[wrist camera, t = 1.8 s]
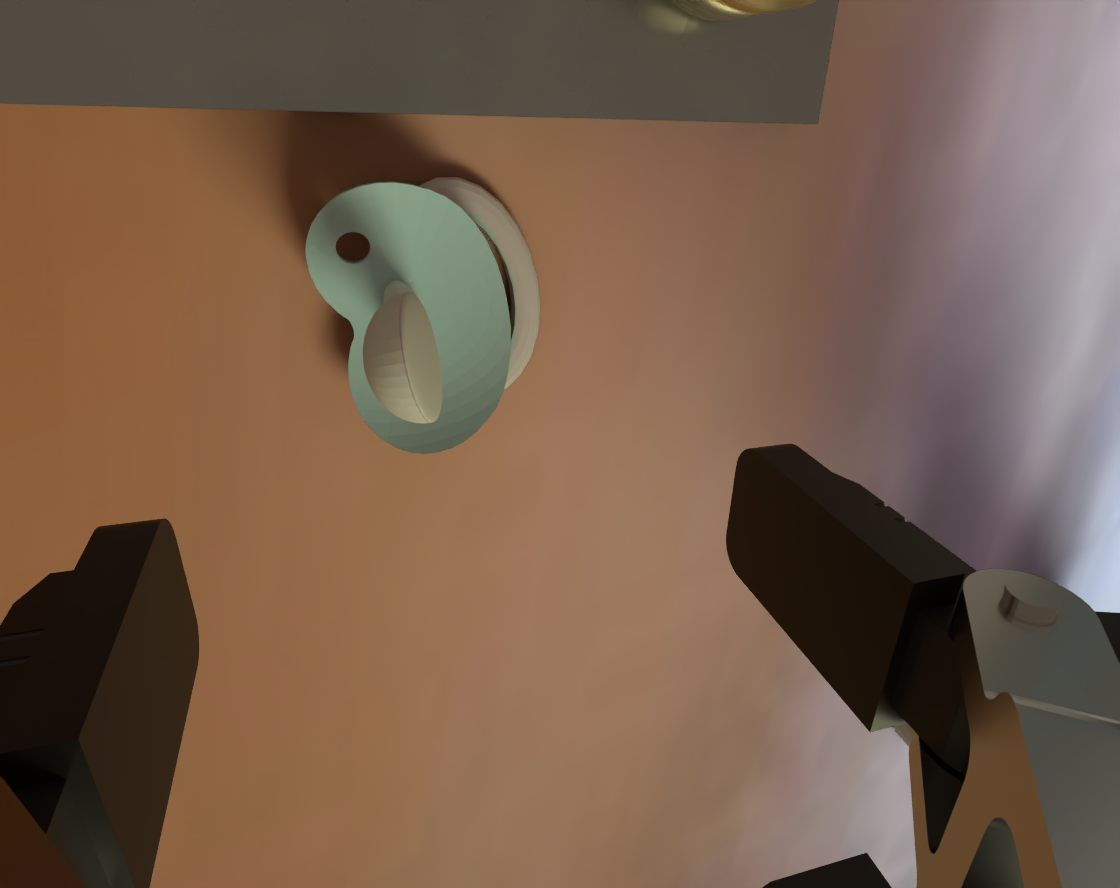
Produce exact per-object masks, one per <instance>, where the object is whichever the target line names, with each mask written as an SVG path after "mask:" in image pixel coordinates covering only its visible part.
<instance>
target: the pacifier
mask: <svg viewBox="0 0 1120 888" xmlns="http://www.w3.org/2000/svg"><path fill="white" fill-rule="evenodd" d="M474 222H475V223H477V224H478V225H479V226H480V227H481V228H482V229H483V230H484V232H485V233H486V234H487V236H488V237H489V238H490V239H491V241H492V242H493V244H494V246H495V248H496V250H497V252H498V254H499V256H500V258H501V260H502V262H503V265H504V268H505V272H506V275H507V278H508V282H509V290H510V297H511V314H510V317H509V309H508V303H507V297H506V293H505V288H504V285H503V281H502V277H501V274H500V271H499V268H498V265H497V262H496V260H495V258H494V255H493V253H492V251H491V249H490V247H489V245H488V243H487V241H486V239H485V237H484V236H483V234H482V233H481V231H480V230H479V228H478V227H477V225H476V224H475V223H474ZM348 232H357V233H360V234H362V235H364V236H365V237H366V238H367V239H368V241H369V243H370V249H369V252H368V254H367V256H366V257H364V258H363V259H361V260H359V261H353V262H352V261H347V260H345V259H343V258H342V257H341V256H340V255H339V254H338V252H337V250H336V242H337V241H338V239H339V238H340V237H341V236H342V235H343V234H346V233H348ZM305 253H306V260H307V265H308V269H309V273H310V275H311V278H312V280H313V282H314V284H315V286H316V288H317V289H318V291H319V292H320V294H321V295H322V296H323V298H324V299H325V300H326V301H327V302H328V303H329V304H330V305H331V306H332V307H333V308H334V309H335V310H336V311H337V312H338V313H339V314H340V315H342V316H343V317H345V318H347V319H348V320H349V321H350V323H351V324H352V327H353V330H354V339H353V341H352V345H351V348H350V354H349V362H348V374H349V384H350V389H351V393H352V397H353V400H354V402H355V404H356V407H357V409H358V411H359V413H360V415H361V416H362V418H363V419H364V421H365V422H366V423H367V425H368V426H369V428H370V429H371V430H372V431H374V432H375V433H376V434H377V435H378V436H379V437H380V438H381V439H383V440H384V441H386V442H388V443H389V444H391V445H393V446H394V447H396V448H399V449H402V450H405V451H408V452H413V453H422V454H427V453H436V452H440V451H443V450H447V449H450V448H453V447H455V446H456V445H458V444H460V443H462V442H464V441H465V440H467V439H468V438H469V437H470V436H472V435H473V434H474V433H475V432H477V431H478V429H479V428H480V427H481V426H482V425H483V423H485V422H486V421H487V420H488V418H489V417H490V415H491V414H492V413H493V411H494V410H495V409H496V407H497V405H498V402H499V400H500V397H501V395H502V393H503V391H504V389H506V388H507V387H508V386H509V385H510V384H511V383H512V382H513V381H514V380H515V379H516V378H517V377H518V376H519V375H520V374H521V373H522V371H523V369H524V368H525V366H526V364H527V362H528V360H529V359H530V357H531V355H532V352H533V348H534V345H535V341H536V337H537V334H538V328H539V315H540V298H539V288H538V279H537V274H536V270H535V267H534V263H533V260H532V256H531V253H530V249H529V247H528V245H527V243H526V241H525V239H524V237H523V235H522V233H521V231H520V229H519V227H518V225H517V223H516V222H515V220H514V219H513V218H512V216H511V215H510V214H509V212H508V211H507V210H506V209H505V207H504V206H503V205H502V203H501V202H500V201H499V200H498V199H496V198H495V197H494V196H493V195H491V194H490V193H489V192H487V191H486V190H485V189H484V188H482V187H481V186H480V185H477V184H475V183H472V182H470V181H467V180H464V179H462V178H459V177H437V178H435V179H432V180H430V181H428V182H426V183H424V184H421V185H419V186H416V185H413V184H408V183H401V182H394V181H391V182H373V183H368V184H363V185H358V186H356V187H353V188H351V189H348V190H346V191H343V192H342V193H340V194H338V195H337V196H335V197H334V198H332V199H331V200H330V201H329V202H328V203H327V204H326V205H325V206H324V207H323V208H322V209H321V210H320V211H319V212H318V214H317V216H316V217H315V219H314V221H313V222H312V224H311V226H310V229H309V233H308V236H307V240H306V246H305Z"/></svg>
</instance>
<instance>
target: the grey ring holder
mask: <svg viewBox="0 0 1120 888" xmlns="http://www.w3.org/2000/svg"><path fill="white" fill-rule="evenodd" d="M838 2H839V0H0V103H2V104H42V105H81V106H121V107H161V108H201V109H241V110H280V111H320V112H360V113H400V114H439V115H479V116H519V117H559V118H599V119H638V120H678V121H718V122H758V123H798V124H818V120H819V114H820V108H821V102H822V96H823V90H824V84H825V78H826V73H827V67H828V61H829V55H830V49H831V43H832V37H833V31H834V25H835V20H836V14H837V8H838Z"/></svg>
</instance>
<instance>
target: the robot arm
mask: <svg viewBox="0 0 1120 888" xmlns="http://www.w3.org/2000/svg"><path fill="white" fill-rule="evenodd" d="M726 545H727V552H728V556H729V560H730V563H731V565H732V567H733V569H734V571H735V573H736V574H737V575H738V577H739V578H740V579H741V580H742V581H743V583H744V584H745V585H746V586H747V587H748V589H749V590H750V591H751V592H752V593H753V594H754V596H755V597H756V598H757V599H758V600H759V602H760V603H761V604H762V605H763V606H764V607H765V609H766V610H767V611H768V612H769V613H770V615H771V616H772V617H773V618H774V619H775V620H776V622H777V623H778V624H779V625H780V626H781V628H782V629H783V630H784V631H785V632H786V633H787V635H788V636H789V637H790V638H791V639H792V641H793V642H794V643H795V644H796V645H797V646H798V648H799V649H800V650H801V651H802V652H803V653H804V655H805V656H806V657H807V658H808V659H809V661H810V662H811V663H812V664H813V665H814V666H815V668H816V669H817V670H818V671H819V672H820V674H821V675H822V676H823V677H824V678H825V679H826V681H827V682H828V683H829V684H830V685H831V687H832V688H833V689H834V690H835V691H836V692H837V694H838V695H839V696H840V697H841V698H842V700H843V701H844V702H845V703H846V704H847V705H848V707H849V708H850V709H851V710H852V711H853V713H854V714H855V715H856V716H857V717H858V718H859V720H860V721H861V722H862V723H863V724H864V726H865V727H866V728H867V729H868V730H869V731H870V732H873V731H877V730H881V729H885V728H889V727H893V726H894V728H895V731H896V732H897V734H898V735H899V736H900V737H901V738H902V739H903V741H904V742H905V743H906V744H907V745H908V746H909V765H910V779H911V793H912V808H913V822H914V836H915V851H916V865H917V888H1120V613H1109V612H1094V610H1093V609H1092V608H1091V607H1090V606H1089V605H1088V604H1087V603H1086V602H1085V601H1083V600H1082V599H1081V598H1080V597H1078V596H1077V595H1075V594H1074V593H1072V592H1071V591H1069V590H1067V589H1065V588H1064V587H1062V586H1060V585H1058V584H1056V583H1054V582H1051V581H1049V580H1046V579H1044V578H1041V577H1038V576H1035V575H1032V574H1028V573H1024V572H1020V571H1014V570H1008V569H985V570H980V571H976V570H974V569H973V568H972V567H970V566H969V565H968V564H966V563H965V562H964V561H962V560H961V559H960V558H958V557H957V556H956V555H954V554H953V553H952V552H950V551H949V550H947V549H946V548H945V547H943V546H942V545H941V544H939V543H938V542H937V541H935V540H934V539H933V538H931V537H930V536H929V535H927V534H926V533H925V532H923V531H922V530H921V529H919V528H918V527H916V526H915V525H914V524H912V523H911V522H905V520H904V517H903V516H902V515H900V514H899V513H898V512H896V511H895V510H894V509H892V508H891V507H889V506H887V507H885V506H884V502H883V501H881V500H880V499H879V498H877V497H876V496H875V495H873V494H872V493H871V492H869V491H868V490H867V489H865V488H864V487H863V486H861V485H860V484H858V483H855V482H853V481H851V480H849V479H846V478H844V477H842V476H839V475H837V474H835V473H832V472H831V471H830V470H828V469H827V468H826V467H824V466H823V465H822V464H820V463H819V462H818V461H816V460H815V459H814V458H812V457H811V456H810V455H808V454H807V453H806V452H805V451H803V450H802V449H801V448H799V447H798V446H796V445H794V444H783V445H775V446H767V447H758V448H750V449H746V450H744V451H743V452H742V453H741V454H740V456H739V458H738V461H737V465H736V472H735V479H734V485H733V492H732V499H731V506H730V513H729V520H728V527H727V534H726ZM198 659H199V635H198V625H197V619H196V615H195V611H194V607H193V603H192V599H191V595H190V591H189V587H188V583H187V579H186V576H185V572H184V568H183V564H182V560H181V556H180V552H179V548H178V544H177V540H176V537H175V533H174V530H173V528H172V526H171V524H170V522H169V521H168V520H167V519H157V520H149V521H140V522H132V523H124V524H116V525H108V526H100V527H98V528H96V529H95V531H94V532H93V534H92V536H91V538H90V540H89V542H88V544H87V546H86V548H85V549H84V551H83V553H82V555H81V557H80V559H79V561H78V563H77V565H76V567H75V569H74V570H72V571H65V572H57V573H50V574H49V575H48V576H47V577H45V578H44V579H43V580H42V581H40V582H39V583H38V584H37V585H36V586H34V587H33V588H32V589H31V590H29V591H28V592H27V593H26V594H25V595H23V596H22V597H21V598H20V599H18V600H17V601H16V602H15V603H14V604H13V605H12V607H11V609H10V610H9V612H8V614H7V615H6V617H5V619H4V620H3V622H2V624H1V625H0V888H149V887H150V882H151V877H152V873H153V868H154V864H155V859H156V855H157V850H158V845H159V841H160V836H161V832H162V827H163V822H164V818H165V813H166V809H167V804H168V800H169V795H170V790H171V786H172V781H173V777H174V772H175V767H176V763H177V758H178V754H179V749H180V745H181V740H182V735H183V731H184V726H185V722H186V717H187V712H188V708H189V703H190V699H191V694H192V690H193V685H194V680H195V676H196V671H197V666H198ZM763 888H891V886H890V885H889V883H888V882H887V881H886V879H885V878H884V876H883V875H882V874H881V872H880V871H879V869H878V868H877V867H876V865H875V864H874V862H873V861H872V860H871V858H870V857H869V855H868V854H867V853H864V854H861V855H858V856H854V857H851V858H848V859H844V860H841V861H838V862H835V863H831V864H828V865H825V866H821V867H818V868H815V869H811V870H808V871H805V872H802V873H798V874H795V875H792V876H788V877H785V878H782V879H778V880H775V881H772V882H770V883H768V884H767V885H765V886H764V887H763Z"/></svg>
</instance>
